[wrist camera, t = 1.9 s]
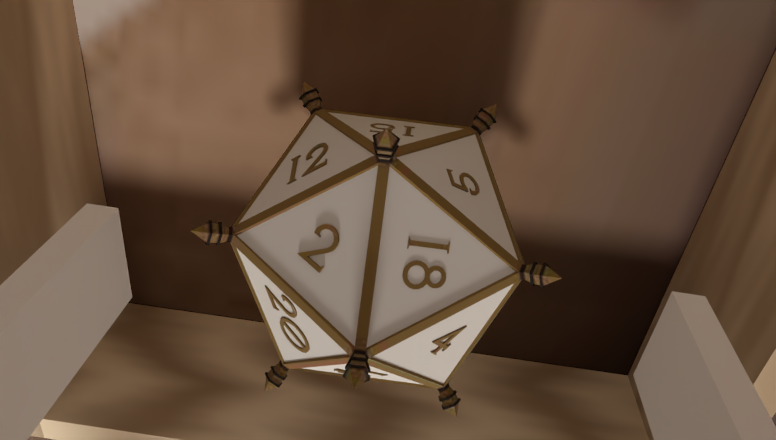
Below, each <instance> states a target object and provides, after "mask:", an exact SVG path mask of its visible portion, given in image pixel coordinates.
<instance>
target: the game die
mask: <svg viewBox="0 0 776 440" xmlns="http://www.w3.org/2000/svg"><path fill="white" fill-rule="evenodd" d="M318 93H319V92H318V90H317V89H316V88H315V89H314V88H313V87H311V86H310V85H308V84H307V83H306V82H304V81H303V86H302V93H301V97H300V98H299V99H300V100H302V101H303V103H304V105H303V106H304V107H306V108H307V109H308V110H309V111H310V112H311V116H310V117H309V119H308V120H307V121H306V123H305V124H304V126H303V127H302V128H301V130H300V131H299V133H298V134H297V135H296V137H295V138H294V140H293V141H292V142H291V144H290V145H289V147H288V148H287V150H286V151H285V152H284V154H283V155H282V157H281V158H280V159H279V161H278V162H277V164H276V165H275V166H274V168H273V169H272V171H271V172H270V173H269V175H268V176H267V178H266V179H265V180H264V182H263V183H262V185H261V186H260V188H259V189H258V190H257V192H256V193H255V195H254V196H253V197H252V199H251V200H250V202H249V203H248V204H247V206H246V207H245V209H244V210H243V211H242V213H241V214H240V216H239V217H238V218H237V220H236V221H235V223H234V224H233V226H232V227H227V226H224V225H222V222H219V223H218V224H217V223H212V221H211V220H209V221H208V222H207V223H206V224H204V225H202V226H200V227H198V228H195V229H193V230H191V232H193V233H194V234H196V235H197V236H198V237H200V238H201V239H202V240H204V241H205V243H206V245H209V243H216V245H219V244H220V243H222V242H226V241H228V242H230V244H231V246H232V248H233V251H234V253H235V255H236V258H237V260H238V262H239V265H240V267H241V269H242V271H243V274H244V276H245V278H246V281H247V283H248V285H249V288H250V290H251V292H252V295H253V297H254V299H255V302H256V304H257V306H258V309H259V311H260V313H261V316H262V318H263V320H264V323H265V325H266V327H267V330H268V332H269V334H270V337H271V339H272V341H273V343H274V346H275V348H276V350H277V353H278V355H279V357H280V362H279V363H278V364H277V365H275V366H271V370H270V371H269V372H265V375H266V382H265V391H267V390H269V389H272V388H275V387H278V388H279V387H280V386H281V384H282V380H283V381H284V380H285V379H286V377H287V372H288V370H289V369H292V370H299V371H306V372H314V373H321V374H329V375H336V376H342V377H343V378H345V379H346V380H348V382H349V383H350V385H351V386H352V388H353V389H355V388H356V387H358V386H359V385H361V384H362V383H364V382H367V381H370V380H373V381H380V382H388V383H395V384H402V385H410V386H417V387H425V388H432V389H437V390H438V391H439V395H440V396H438V397H439V401H440V402H442V409H443V410H446V411H448V412H449V413H451V414H452V415H454V416H455V417H457V412H458V405H459V402H460V400H461V399H460V398H458V397H457V395H456V393H457V391H456V390H453V389H452V388H451V387H450V386H449V382H450V380H451V379H452V378H453V376H454V375H455V373H456V372H457V371H458V369H459V368H460V366H461V365H462V363H463V362H464V361H465V359H466V358H467V356H468V355H469V354H470V352H471V351H472V349H473V348H474V347H475V345H476V344H477V342H478V341H479V340H480V338H481V337H482V335H483V334H484V332H485V331H486V330H487V328H488V327H489V325H490V324H491V323H492V321H493V320H494V318H495V317H496V316H497V314H498V313H499V311H500V310H501V308H502V307H503V306H504V304H505V303H506V301H507V300H508V299H509V297H510V296H511V294H512V293H513V292H514V290H515V289H516V287H517V286H518V285H519V283H520V282H521V280H526V281H528V282H530V283H531V285H532V286H534V285H535V284H537V285H540V287H541V288H544V287H545V286H546V285H547V284H549V283H552V282H554V281H557V280H559V279H562V278H561V277H560V276H559V275H557V274H556V273H555V272H554V271H552V270H551V269H550V267H549V266H548V265H547V264H546V263H544V264H543V265H538V264H537V263H536V262H534V263H533V264H531V265H525V264H524V261H523V258H522V255H521V252H520V249H519V246H518V243H517V241H516V238H515V235H514V232H513V229H512V226H511V223H510V220H509V218H508V215H507V212H506V209H505V206H504V203H503V200H502V197H501V195H500V192H499V189H498V186H497V183H496V180H495V177H494V174H493V172H492V169H491V166H490V163H489V160H488V157H487V154H486V151H485V148H484V146H483V143H482V140H481V137H480V135H481V133H482V132H483V131H485V130H486V129H488V130H489V129H490V125H491V124H492V123H496V121H495V113H496V104H495V105H492V106H490V107H487V108H484V109H482V108H481V109H480V111H479V114H478V116H477V115H476V116H475V117H474V123H473V125H472V126H471V127H467V126H459V125H451V124H443V123H434V122H426V121H418V120H410V119H402V118H393V117H385V116H377V115H369V114H361V113H352V112H344V111H336V110H328V109H322V108H321V101H322V100H321V98H320V96H318Z"/></svg>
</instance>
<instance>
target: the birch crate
mask: <svg viewBox="0 0 776 440" xmlns="http://www.w3.org/2000/svg"><path fill="white" fill-rule="evenodd" d="M87 203H88V204H95V205H101V206H107V204H106V198H105V192H104V186H103V180H102V174H101V168H100V162H99V156H98V150H97V144H96V138H95V132H94V126H93V120H92V114H91V108H90V102H89V96H88V90H87V84H86V78H85V72H84V66H83V60H82V54H81V48H80V42H79V36H78V30H77V24H76V18H75V13H74V6H73V0H0V285H1V284H2V283H3V282H4V281H5V280H7V279H8V278H9V277H10V276H11V275H12V274H13V273H14V272H15V271H16V270H17V269H18V268H19V267H20V266H21V265H22V264H23V263H24V262H26V261H27V260H28V259H29V258H30V257H31V256H32V255H33V254H34V253H35V252H36V251H37V250H38V249H39V248H40V247H41V246H42V245H43V244H45V243H46V242H47V241H48V240H49V239H50V238H51V237H52V236H53V235H54V234H55V233H56V232H57V231H58V230H59V229H60V228H61V227H63V226H64V225H65V224H66V223H67V222H68V221H69V220H70V219H71V218H72V217H73V216H74V215H75V214H76V213H77V212H78V211H79V210H80V209H82V208H83V207H84V206H85V205H86V204H87ZM672 291H674V292H680V293H687V294H694V295H700V296H706V298H707V300H708V302H709V304H710V306H711V308H712V310H713V311H714V313H715V315H716V317H717V319H718V321H719V323H720V324H721V326H722V328H723V330H724V332H725V334H726V336H727V337H728V339H729V341H730V343H731V345H732V347H733V349H734V350H735V352H736V354H737V356H738V358H739V360H740V362H741V363H742V365H743V367H744V369H745V371H746V373H747V375H748V377H749V378H750V380H751V382H752V384H753V386H754V388H755V390H756V391H757V393H758V395H759V397H760V399H761V401H762V403H763V404H764V406H765V408H766V410H767V412H768V414H769V416H770V417H771V418H772V417H773V415H774V414H775V412H776V50H775V53H774V55H773V57H772V59H771V61H770V64H769V66H768V68H767V70H766V72H765V75H764V77H763V79H762V81H761V83H760V86H759V88H758V90H757V92H756V94H755V97H754V99H753V101H752V103H751V105H750V108H749V110H748V112H747V114H746V116H745V119H744V121H743V123H742V125H741V127H740V130H739V132H738V134H737V136H736V138H735V141H734V143H733V145H732V147H731V149H730V152H729V154H728V156H727V158H726V160H725V163H724V165H723V167H722V169H721V171H720V174H719V176H718V178H717V180H716V182H715V185H714V187H713V189H712V191H711V193H710V196H709V198H708V200H707V202H706V204H705V207H704V209H703V211H702V213H701V215H700V218H699V220H698V222H697V224H696V226H695V229H694V231H693V233H692V235H691V237H690V240H689V242H688V244H687V246H686V248H685V251H684V253H683V255H682V257H681V259H680V262H679V264H678V266H677V268H676V270H675V273H674V275H673V277H672V279H671V281H670V284H669V286H668V288H667V290H666V292H665V295H664V297H663V299H662V301H661V303H660V306H659V308H658V310H657V312H656V314H655V317H654V319H653V321H652V323H651V325H650V328H649V330H648V332H647V334H646V336H645V339H644V341H643V343H642V345H641V347H640V349H639V352H638V354H637V356H636V358H635V360H634V363H633V365H632V367H631V369H630V371H629V374H628V375H621V374H614V373H607V372H600V371H594V370H587V369H580V368H573V367H566V366H559V365H552V364H545V363H539V362H532V361H525V360H518V359H511V358H504V357H497V356H490V355H483V354H477V353H470V354H469V355H468V356H467V358H466V359H465V361H464V362H463V363H462V365H461V366H460V368H459V369H458V371H457V372H456V373H455V375H454V376H453V378H452V379H451V380H450V382H449V386H450V387H451V388H452V389H453V390H456V391H457V393H456V395H457V397H458V398H460V399H461V400H460V402H459V405H458V412H457V417H455V416H454V415H452V414H451V413H449V412H448V411H446V410H443V409H442V402H440V401H439V397H438V396H440V395H439V391H438V390H437V389H432V388H425V387H417V386H410V385H402V384H395V383H388V382H380V381H373V380H370V381H367V382H364V383H362V384H361V385H359V386H358V387H356V388H355V389H353V388H352V386H351V385H350V383H349V382H348V380H346V379H345V378H343V377H342V376H336V375H329V374H321V373H314V372H306V371H299V370H292V369H289V370H288V372H287V377H286V379H285V380H284V381H283V380H282V384H281V386H280V387H279V388H278V387H275V388H272V389H269V390H267V391H265V382H266V375H265V372H269V371H270V370H271V366H275V365H277V364H278V363H279V362H280V357H279V355H278V353H277V350H276V348H275V346H274V343H273V341H272V339H271V337H270V334H269V332H268V330H267V327H266V325H265V323H263V322H256V321H249V320H242V319H235V318H229V317H222V316H215V315H208V314H201V313H194V312H187V311H180V310H173V309H167V308H160V307H153V306H146V305H139V304H132V303H128V304H127V305H126V306H125V308H124V309H123V310H122V312H121V313H120V315H119V316H118V317H117V319H116V320H115V321H114V323H113V324H112V325H111V327H110V328H109V329H108V331H107V332H106V334H105V335H104V336H103V338H102V339H101V340H100V342H99V343H98V344H97V346H96V347H95V349H94V350H93V351H92V353H91V354H90V355H89V357H88V358H87V359H86V361H85V362H84V363H83V365H82V366H81V368H80V369H79V370H78V372H77V373H76V374H75V376H74V377H73V378H72V380H71V381H70V382H69V384H68V385H67V387H66V388H65V389H64V391H63V392H62V393H61V395H60V396H59V397H58V399H57V400H56V402H55V403H54V404H53V406H52V407H51V408H50V410H49V411H48V412H47V414H46V415H45V416H44V418H43V419H42V421H41V422H40V423H39V425H38V426H37V427H36V429H35V430H34V431H33V433H32V434H31V435H30V436H35V437H42V438H49V439H55V440H654V438H653V435H652V432H651V429H650V426H649V423H648V420H647V417H646V413H645V410H644V407H643V404H642V401H641V398H640V395H639V392H638V388H637V385H636V382H635V379H634V376H633V374H634V372H635V370H636V368H637V366H638V363H639V361H640V359H641V357H642V355H643V353H644V350H645V348H646V346H647V344H648V342H649V340H650V338H651V335H652V333H653V331H654V329H655V327H656V325H657V322H658V320H659V318H660V316H661V314H662V312H663V310H664V307H665V305H666V303H667V301H668V299H669V297H670V294H671V292H672Z"/></svg>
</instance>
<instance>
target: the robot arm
mask: <svg viewBox="0 0 776 440" xmlns="http://www.w3.org/2000/svg"><path fill="white" fill-rule="evenodd" d="M131 298H132V292H131V286H130V279H129V273H128V267H127V260H126V254H125V248H124V241H123V235H122V229H121V222H120V216H119V210H118V208H115V207H108V206H101V205H95V204H88V203H87V204H86V205H85V206H84V207H83V208H82V209H80V210H79V211H78V212H77V213H76V214H75V215H74V216H73V217H72V218H71V219H70V220H69V221H68V222H67V223H66V224H65V225H64V226H63V227H61V228H60V229H59V230H58V231H57V232H56V233H55V234H54V235H53V236H52V237H51V238H50V239H49V240H48V241H47V242H46V243H45V244H43V245H42V246H41V247H40V248H39V249H38V250H37V251H36V252H35V253H34V254H33V255H32V256H31V257H30V258H29V259H28V260H27V261H26V262H24V263H23V264H22V265H21V266H20V267H19V268H18V269H17V270H16V271H15V272H14V273H13V274H12V275H11V276H10V277H9V278H8V279H7V280H5V281H4V282H3V283H2V284H1V285H0V440H28V438H29V437H30V435H31V434H32V433H33V431H34V430H35V429H36V427H37V426H38V425H39V423H40V422H41V421H42V419H43V418H44V416H45V415H46V414H47V412H48V411H49V410H50V408H51V407H52V406H53V404H54V403H55V402H56V400H57V399H58V397H59V396H60V395H61V393H62V392H63V391H64V389H65V388H66V387H67V385H68V384H69V382H70V381H71V380H72V378H73V377H74V376H75V374H76V373H77V372H78V370H79V369H80V368H81V366H82V365H83V363H84V362H85V361H86V359H87V358H88V357H89V355H90V354H91V353H92V351H93V350H94V349H95V347H96V346H97V344H98V343H99V342H100V340H101V339H102V338H103V336H104V335H105V334H106V332H107V331H108V329H109V328H110V327H111V325H112V324H113V323H114V321H115V320H116V319H117V317H118V316H119V315H120V313H121V312H122V310H123V309H124V308H125V306H126V305H127V304H128V302H129V301H130V300H131ZM633 376H634V379H635V382H636V385H637V388H638V392H639V395H640V398H641V401H642V404H643V407H644V410H645V413H646V417H647V420H648V423H649V426H650V429H651V432H652V435H653V438H654V440H776V427H775V425H774V423H773V421H772V419H771V417H770V416H769V414H768V412H767V410H766V408H765V406H764V404H763V403H762V401H761V399H760V397H759V395H758V393H757V391H756V390H755V388H754V386H753V384H752V382H751V380H750V378H749V377H748V375H747V373H746V371H745V369H744V367H743V365H742V363H741V362H740V360H739V358H738V356H737V354H736V352H735V350H734V349H733V347H732V345H731V343H730V341H729V339H728V337H727V336H726V334H725V332H724V330H723V328H722V326H721V324H720V323H719V321H718V319H717V317H716V315H715V313H714V311H713V310H712V308H711V306H710V304H709V302H708V300H707V298H706V296H700V295H694V294H687V293H680V292H674V291H672V292H671V294H670V297H669V299H668V301H667V303H666V305H665V307H664V310H663V312H662V314H661V316H660V318H659V320H658V322H657V325H656V327H655V329H654V331H653V333H652V335H651V338H650V340H649V342H648V344H647V346H646V348H645V350H644V353H643V355H642V357H641V359H640V361H639V363H638V366H637V368H636V370H635V372H634V374H633Z"/></svg>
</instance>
